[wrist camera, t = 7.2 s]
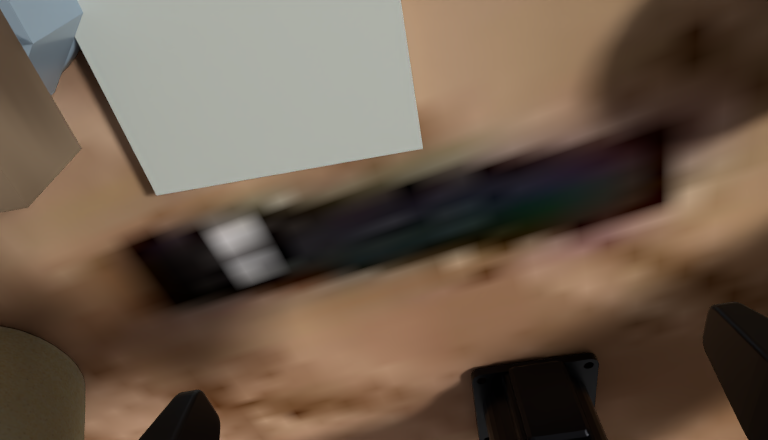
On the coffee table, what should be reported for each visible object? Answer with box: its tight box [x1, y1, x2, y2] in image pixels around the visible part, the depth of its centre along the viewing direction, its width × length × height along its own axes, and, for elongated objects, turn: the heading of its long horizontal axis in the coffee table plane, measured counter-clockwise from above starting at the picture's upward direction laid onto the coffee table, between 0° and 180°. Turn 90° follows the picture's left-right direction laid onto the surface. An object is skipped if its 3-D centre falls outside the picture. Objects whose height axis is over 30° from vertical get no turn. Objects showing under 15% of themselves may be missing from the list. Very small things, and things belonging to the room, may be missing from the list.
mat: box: [75, 0, 423, 195], centre depth 17 cm, size 10×10×1 cm
